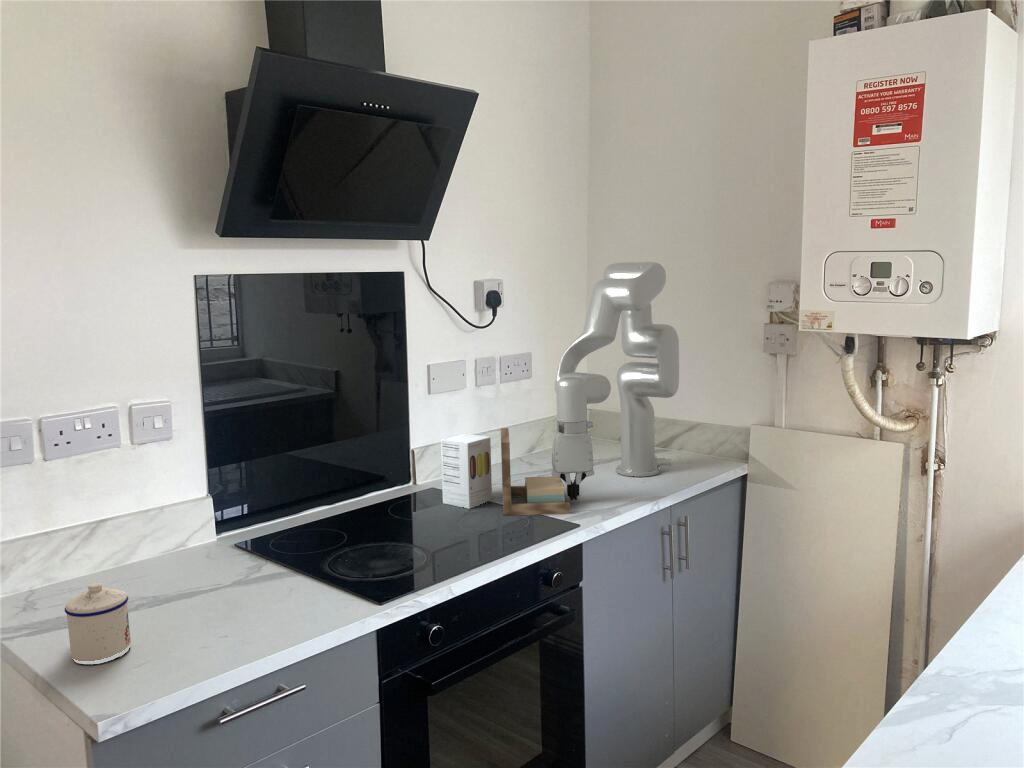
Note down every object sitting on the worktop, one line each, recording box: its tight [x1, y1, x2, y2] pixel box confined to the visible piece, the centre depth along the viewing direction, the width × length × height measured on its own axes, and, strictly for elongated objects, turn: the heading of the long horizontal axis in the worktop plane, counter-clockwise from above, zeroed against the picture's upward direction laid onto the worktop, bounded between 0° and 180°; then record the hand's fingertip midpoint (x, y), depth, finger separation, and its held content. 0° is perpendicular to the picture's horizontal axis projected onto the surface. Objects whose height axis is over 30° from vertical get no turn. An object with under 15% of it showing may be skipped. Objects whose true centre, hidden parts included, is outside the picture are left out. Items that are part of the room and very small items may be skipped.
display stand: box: [500, 427, 571, 517], centre depth 208 cm, size 16×17×18 cm
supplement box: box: [440, 433, 493, 510], centre depth 211 cm, size 10×9×17 cm
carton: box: [524, 475, 566, 504], centre depth 208 cm, size 9×12×6 cm
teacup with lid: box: [64, 582, 132, 661], centre depth 133 cm, size 12×9×12 cm
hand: (573, 498), depth 209 cm, fingers closed
